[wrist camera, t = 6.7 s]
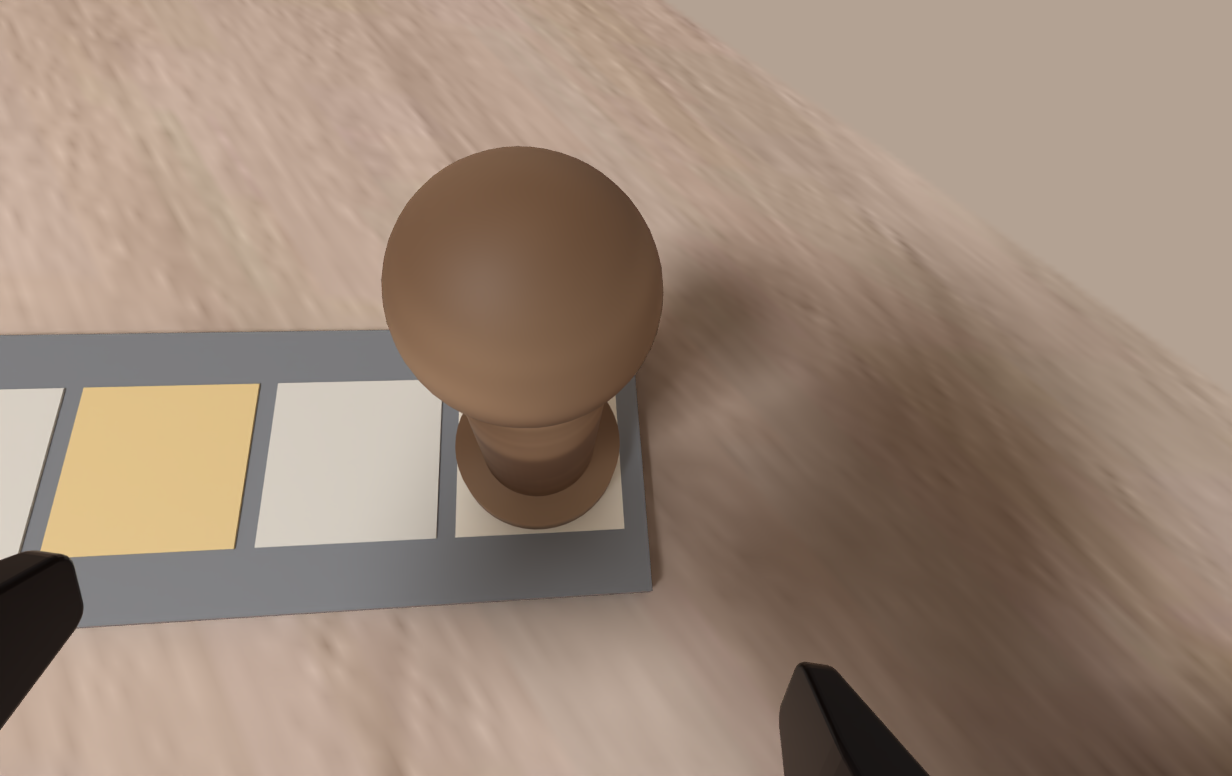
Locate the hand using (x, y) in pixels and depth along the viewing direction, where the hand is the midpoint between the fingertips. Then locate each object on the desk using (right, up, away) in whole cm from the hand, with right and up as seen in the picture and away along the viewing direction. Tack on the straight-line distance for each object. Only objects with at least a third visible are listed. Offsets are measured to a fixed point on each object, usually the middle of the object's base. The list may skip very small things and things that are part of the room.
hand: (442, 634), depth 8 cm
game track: (-9, 0, +12) cm, 15 cm away
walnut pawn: (0, +1, +12) cm, 12 cm away
